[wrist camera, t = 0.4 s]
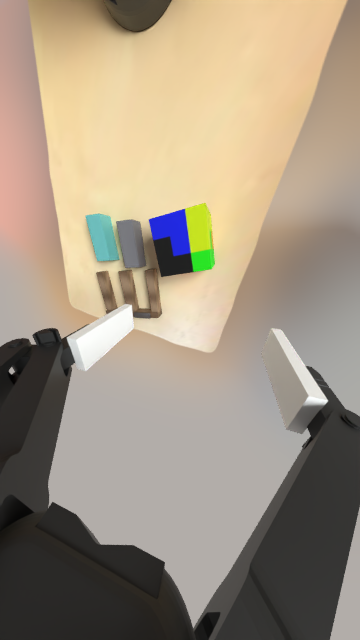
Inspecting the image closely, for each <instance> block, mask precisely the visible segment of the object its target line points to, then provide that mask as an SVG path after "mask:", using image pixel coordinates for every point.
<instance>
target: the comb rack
mask: <svg viewBox="0 0 360 640" xmlns="http://www.w3.org/2000/svg"><path fill="white" fill-rule="evenodd" d="M145 273H146V279H147V285H148V292H149V298H150V305H151V309H139V306H138V300H137V295H136V290H135V285H134V280H133V274H132V270H124V271H119V276H120V280H121V284H122V289H123V293H124V298H125V302H126V304H129V305H132V313H133V317H135V318H159V316H160V315H161V314H162V311H161V303H160V295H159V287H158V279H157V271H156V269H149V270H146V271H145ZM96 274H97V277H98V281H99V284H100V288H101V291H102V295H103V298H104V302H105V305H106V309H107V311H106V313H107V314H108V313H110V312H112V311H113V310H115V309H117V305H116V301H115V297H114V293H113V289H112V285H111V281H110V277H109V273H108V271H102V272H97V273H96Z"/></svg>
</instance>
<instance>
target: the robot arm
mask: <svg viewBox="0 0 360 640" xmlns="http://www.w3.org/2000/svg"><path fill="white" fill-rule="evenodd" d="M103 1H104V3H105V5H106V7H107V9H108V11H109V12H110V14H111V15H112V17H113V18H114V19H115V20H116V21H117V22H118V23H119V24H120V25H121V26H122V27H124V28H126V29H128V30H132V31H140V30H144V29H146V28H148V27H150V26H151V25H152V24H154V23H155V22H156V21H157V20H158V19H159V18H160V17H161V15H162V14H163V13H164V11H165V10H166V8H167V7H168V5H169V3H170V1H171V0H103ZM132 329H134V323H133V313H132V305H129V304H124V305H122V306H120V307H119V308H117V309H115V310H113V311H112V312H110V313H108V314H107V315H105V316H103V317H101V318H100V319H98V320H96V321H94V322H93V323H91V324H88V325H86V326H84V327H82V328H81V329H79V330H77V331H75V332H73V333H71V334H70V335H68V336H66V337H64V338H63V339H61V337H60V334H59V332H58V330H57V329H55V328H49V329H44V330H41V331H38V332H36V333H35V334H33V338H34V340H35V342H36V344H37V345H31V343H30V341H29V339H25V338H22V339H16V340H12V341H10V342H7V343H6V344H4V345H2V346H1V347H0V640H330V636H331V631H332V627H333V623H334V618H335V614H336V609H337V605H338V600H339V596H340V591H341V587H342V583H343V578H344V573H345V569H346V565H347V560H348V556H349V551H350V547H351V542H352V538H353V534H354V529H355V525H356V520H357V516H358V511H359V507H360V417H359V416H358V415H356V414H355V413H353V412H351V411H349V410H346V409H345V408H344V406H343V405H342V404H341V402H340V401H339V400H338V398H337V397H336V395H335V394H334V393H333V391H332V390H331V389H330V388H329V386H328V385H327V383H326V382H325V381H324V379H323V378H322V377H321V375H320V374H319V373H318V372H317V371H316V370H314V369H313V368H312V367H309V366H305V365H304V363H303V362H302V360H301V359H300V357H299V356H298V354H297V353H296V351H295V350H294V348H293V347H292V345H291V344H290V342H289V341H288V339H287V338H286V336H285V335H284V333H283V332H282V330H280V329H273V328H271V330H270V332H269V335H268V338H267V340H266V343H265V345H264V348H263V350H262V353H261V355H262V358H263V361H264V364H265V367H266V370H267V373H268V376H269V379H270V381H271V385H272V388H273V391H274V394H275V397H276V400H277V403H278V406H279V409H280V412H281V415H282V418H283V421H284V424H285V427H286V429H287V430H290V431H294V432H297V433H300V434H302V433H303V432H304V431H305V430H306V428H308V430H309V432H310V435H311V437H310V438H309V439H308V440H307V441H306V443H305V444H304V445H303V446H302V447H303V449H302V451H301V453H300V454H299V455H298V457H297V459H296V461H295V462H294V464H293V466H292V467H291V469H290V471H289V472H288V474H287V476H286V477H285V479H284V481H283V483H282V484H281V486H280V488H279V489H278V491H277V493H276V494H275V496H274V498H273V500H272V501H271V503H270V504H269V506H268V508H267V510H266V511H265V513H264V515H263V516H262V518H261V520H260V522H259V523H258V525H257V526H256V528H255V530H254V531H253V533H252V535H251V537H250V538H249V540H248V542H247V543H246V545H245V547H244V548H243V550H242V552H241V554H240V555H239V557H238V559H237V560H236V562H235V564H234V565H233V567H232V569H231V570H230V572H229V573H228V575H227V577H226V578H225V579H224V581H223V582H222V584H221V585H220V586H219V588H218V589H217V590H216V592H215V594H214V595H213V597H212V598H211V600H210V602H209V604H208V605H207V607H206V608H205V610H204V612H203V613H202V615H201V617H200V618H199V620H198V622H197V623H196V625H195V627H194V628H193V627H192V623H191V620H190V617H189V614H188V612H187V608H186V605H185V603H184V600H183V598H182V596H181V594H180V592H179V590H178V588H177V586H176V585H175V583H174V581H173V580H172V578H171V576H170V575H169V574H168V573H167V571H166V570H165V569H164V566H165V562H163V561H161V560H160V559H158V558H156V557H154V556H152V555H150V554H148V553H147V552H145V551H143V550H141V549H139V548H137V547H135V546H133V545H100V543H99V542H98V540H97V539H96V538H95V536H94V535H93V533H91V531H90V530H89V529H88V528H87V526H86V525H85V524H84V523H83V522H82V521H81V519H80V518H79V517H78V516H77V515H76V514H74V513H72V512H70V511H68V510H67V509H65V508H63V507H61V506H59V505H57V504H56V503H54V502H52V504H51V505H50V506H49V508H48V505H49V491H48V479H49V474H50V470H51V465H52V461H53V456H54V451H55V447H56V442H57V437H58V433H59V428H60V423H61V419H62V413H63V409H64V405H65V400H66V395H67V391H68V386H69V381H70V377H71V372H72V367H71V365H73V363H75V364H76V367H77V369H80V370H83V371H87V370H88V369H89V368H90V367H91V366H92V365H93V364H94V363H95V362H97V361H98V360H99V359H100V358H101V357H102V356H103V355H104V354H106V353H107V352H108V351H109V350H110V349H111V348H112V347H113V346H115V345H116V344H117V343H118V342H119V341H120V340H121V339H122V338H123V337H124V336H126V335H127V334H128V333H129V332H130V331H131V330H132ZM11 367H13V369H14V371H15V373H13V374H12V375H11V374H10V373H9V369H10V368H11Z"/></svg>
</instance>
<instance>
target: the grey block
mask: <svg viewBox="0 0 360 640" xmlns="http://www.w3.org/2000/svg"><path fill="white" fill-rule="evenodd" d="M116 223H117V228H118V233H119V238H120V243H121V248H122V253H123V258H124V263H125V268H131V267H143V266H146V260H145V253H144V246H143V239H142V232H141V225H140V222H138V221H135V220H132V219H131V220H124V221H116Z"/></svg>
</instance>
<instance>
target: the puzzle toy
mask: <svg viewBox="0 0 360 640" xmlns="http://www.w3.org/2000/svg"><path fill="white" fill-rule="evenodd" d="M149 223H150V227H151V232H152V236H153V241H154V246H155V250H156V255H157V259H158V264H159V269H160V273H161V277H164V276H170V275H177V274H183V273H190V272H196V271H203V270H209V269H212V267H213V266H214V264H215V261H214V249H213V237H212V224H211V214H210V212H209V210H208V208H207V205H206V203H203V204H200V205H196V206H193V207H190V208H186V209H183V210H179V211H176V212H172V213H169V214H166V215H162V216H159V217H155V218H152V219H149Z"/></svg>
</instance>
